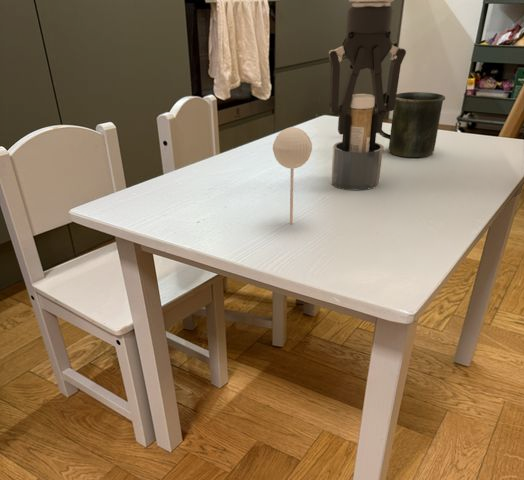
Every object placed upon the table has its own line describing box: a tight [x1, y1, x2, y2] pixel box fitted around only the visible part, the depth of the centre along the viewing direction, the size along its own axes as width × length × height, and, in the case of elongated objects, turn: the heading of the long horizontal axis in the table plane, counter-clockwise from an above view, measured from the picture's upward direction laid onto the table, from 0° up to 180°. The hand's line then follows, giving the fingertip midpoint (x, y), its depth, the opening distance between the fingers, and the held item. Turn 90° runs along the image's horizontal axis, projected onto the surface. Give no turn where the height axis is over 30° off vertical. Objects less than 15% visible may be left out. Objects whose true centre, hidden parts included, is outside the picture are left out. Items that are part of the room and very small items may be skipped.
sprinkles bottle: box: [348, 93, 375, 152], centre depth 95 cm, size 5×5×13 cm
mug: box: [378, 91, 446, 158], centre depth 114 cm, size 11×15×12 cm
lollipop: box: [272, 126, 313, 225], centre depth 79 cm, size 6×6×15 cm
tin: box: [331, 141, 384, 190], centre depth 98 cm, size 9×9×7 cm
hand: (357, 151), depth 97 cm, fingers closed on sprinkles bottle, 4 cm apart
